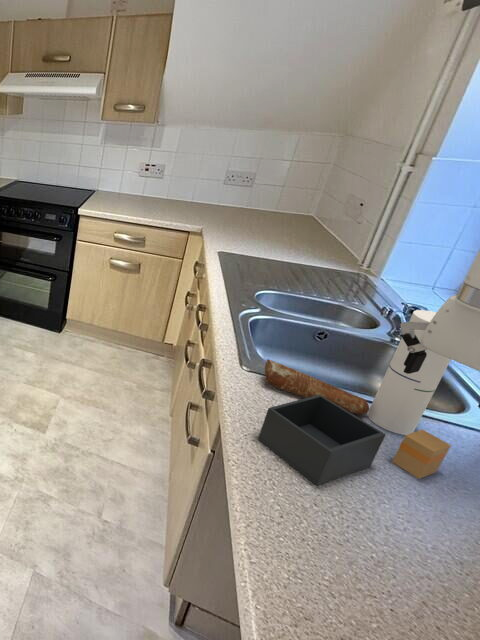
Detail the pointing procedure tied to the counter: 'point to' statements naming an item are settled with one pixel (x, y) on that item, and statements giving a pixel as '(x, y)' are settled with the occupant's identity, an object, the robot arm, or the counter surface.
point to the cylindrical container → (407, 386)
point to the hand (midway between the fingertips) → (445, 388)
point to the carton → (421, 453)
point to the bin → (320, 438)
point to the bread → (311, 387)
